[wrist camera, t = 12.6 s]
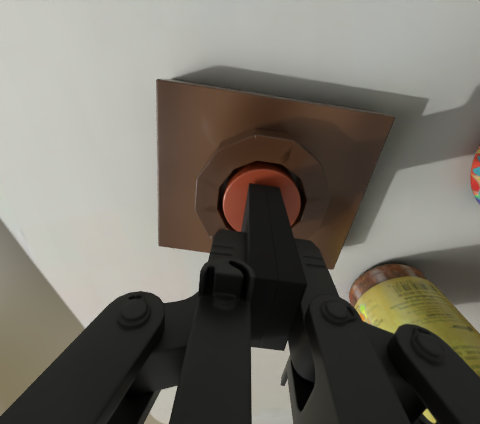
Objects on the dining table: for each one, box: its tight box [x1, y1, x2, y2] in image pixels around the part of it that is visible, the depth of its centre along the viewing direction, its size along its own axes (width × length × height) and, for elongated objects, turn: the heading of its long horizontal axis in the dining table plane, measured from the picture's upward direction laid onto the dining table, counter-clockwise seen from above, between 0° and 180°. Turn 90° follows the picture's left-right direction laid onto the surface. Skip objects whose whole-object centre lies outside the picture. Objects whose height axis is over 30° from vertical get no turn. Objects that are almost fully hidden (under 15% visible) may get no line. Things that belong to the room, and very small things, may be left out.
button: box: [223, 161, 301, 232], centre depth 14 cm, size 4×4×2 cm
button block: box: [156, 79, 395, 269], centre depth 15 cm, size 12×10×4 cm
